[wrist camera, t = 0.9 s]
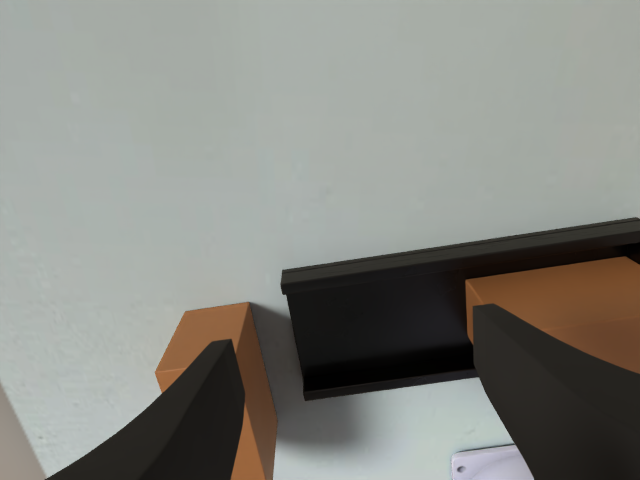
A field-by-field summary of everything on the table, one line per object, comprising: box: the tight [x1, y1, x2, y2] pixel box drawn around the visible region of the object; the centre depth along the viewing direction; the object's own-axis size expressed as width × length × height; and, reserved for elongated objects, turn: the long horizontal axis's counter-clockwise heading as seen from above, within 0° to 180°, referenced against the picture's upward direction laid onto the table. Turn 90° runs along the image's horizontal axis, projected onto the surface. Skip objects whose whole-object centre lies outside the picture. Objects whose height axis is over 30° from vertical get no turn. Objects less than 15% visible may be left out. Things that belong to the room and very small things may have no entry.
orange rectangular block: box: [155, 302, 278, 480], centre depth 22 cm, size 3×8×5 cm, turn 9°
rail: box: [281, 217, 640, 401], centre depth 23 cm, size 7×18×2 cm, turn 99°
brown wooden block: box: [465, 256, 640, 374], centre depth 21 cm, size 3×8×5 cm, turn 99°
